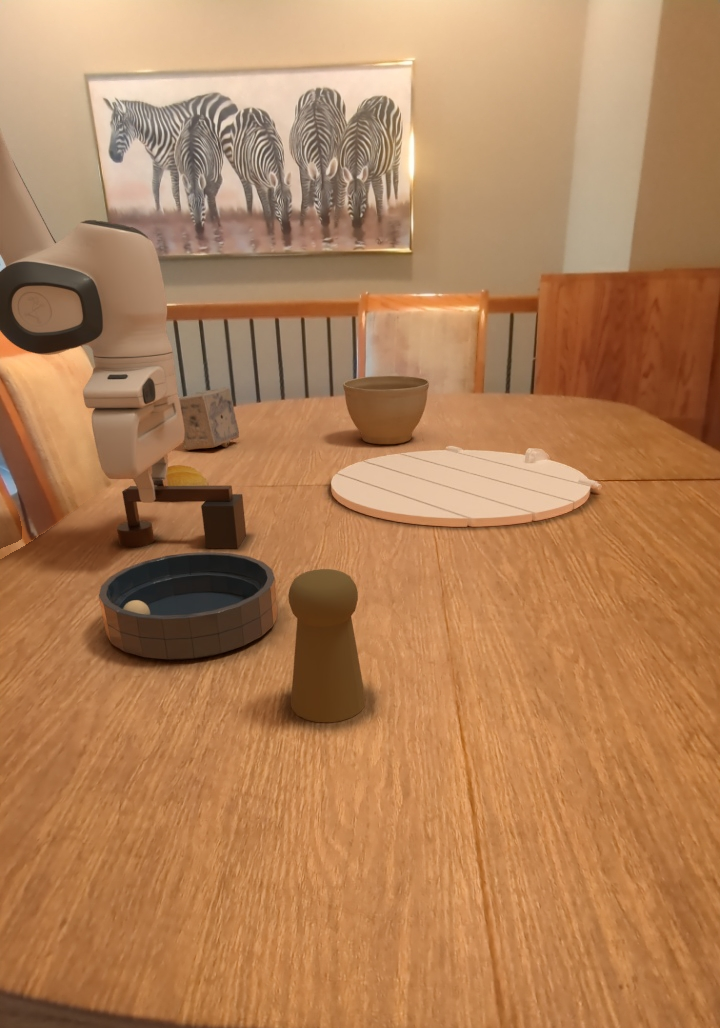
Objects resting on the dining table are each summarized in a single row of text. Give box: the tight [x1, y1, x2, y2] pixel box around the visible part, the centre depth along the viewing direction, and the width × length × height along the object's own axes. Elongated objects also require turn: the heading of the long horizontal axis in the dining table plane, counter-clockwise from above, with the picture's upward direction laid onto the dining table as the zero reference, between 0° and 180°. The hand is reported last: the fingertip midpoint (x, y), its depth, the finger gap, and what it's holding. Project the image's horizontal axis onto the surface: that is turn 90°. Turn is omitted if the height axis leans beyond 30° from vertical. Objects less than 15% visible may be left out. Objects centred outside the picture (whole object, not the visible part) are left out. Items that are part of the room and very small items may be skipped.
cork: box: [287, 568, 366, 724], centre depth 58 cm, size 6×6×11 cm
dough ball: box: [123, 600, 150, 615], centre depth 73 cm, size 3×3×3 cm
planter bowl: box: [342, 375, 430, 445], centre depth 144 cm, size 16×16×11 cm
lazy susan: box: [330, 445, 603, 528], centre depth 116 cm, size 40×39×3 cm
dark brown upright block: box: [200, 493, 247, 550], centre depth 95 cm, size 4×5×6 cm
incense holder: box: [179, 386, 240, 451], centre depth 143 cm, size 10×8×10 cm
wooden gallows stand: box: [116, 485, 234, 548], centre depth 95 cm, size 15×4×7 cm, turn 85°
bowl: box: [98, 551, 279, 661], centre depth 73 cm, size 16×16×4 cm
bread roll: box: [166, 464, 210, 486], centre depth 115 cm, size 8×9×4 cm
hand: (154, 496), depth 94 cm, fingers closed
